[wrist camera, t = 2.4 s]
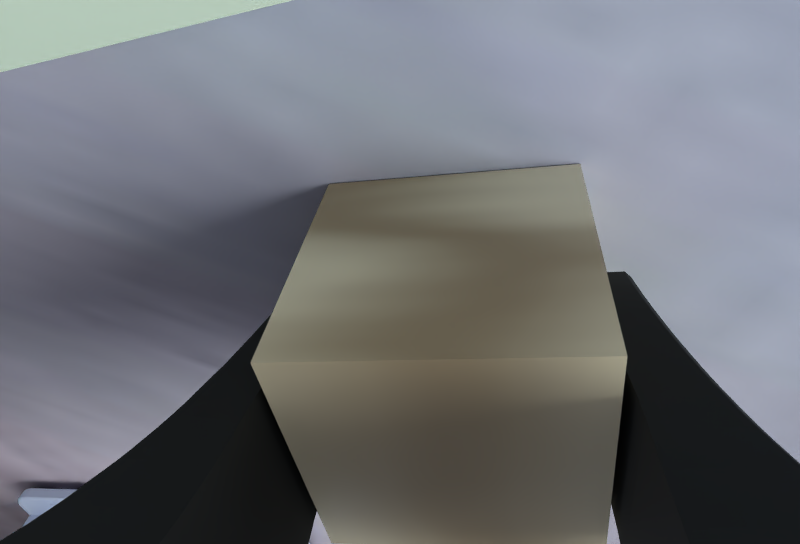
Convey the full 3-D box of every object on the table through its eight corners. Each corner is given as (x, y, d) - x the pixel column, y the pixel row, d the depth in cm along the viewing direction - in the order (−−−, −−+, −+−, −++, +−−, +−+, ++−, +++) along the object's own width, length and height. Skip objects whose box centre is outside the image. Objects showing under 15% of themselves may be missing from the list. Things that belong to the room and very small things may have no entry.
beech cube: (373, 353, 14) (331, 542, 10) (328, 183, 11) (250, 363, 7) (574, 349, 13) (605, 555, 9) (580, 164, 10) (627, 356, 6)
